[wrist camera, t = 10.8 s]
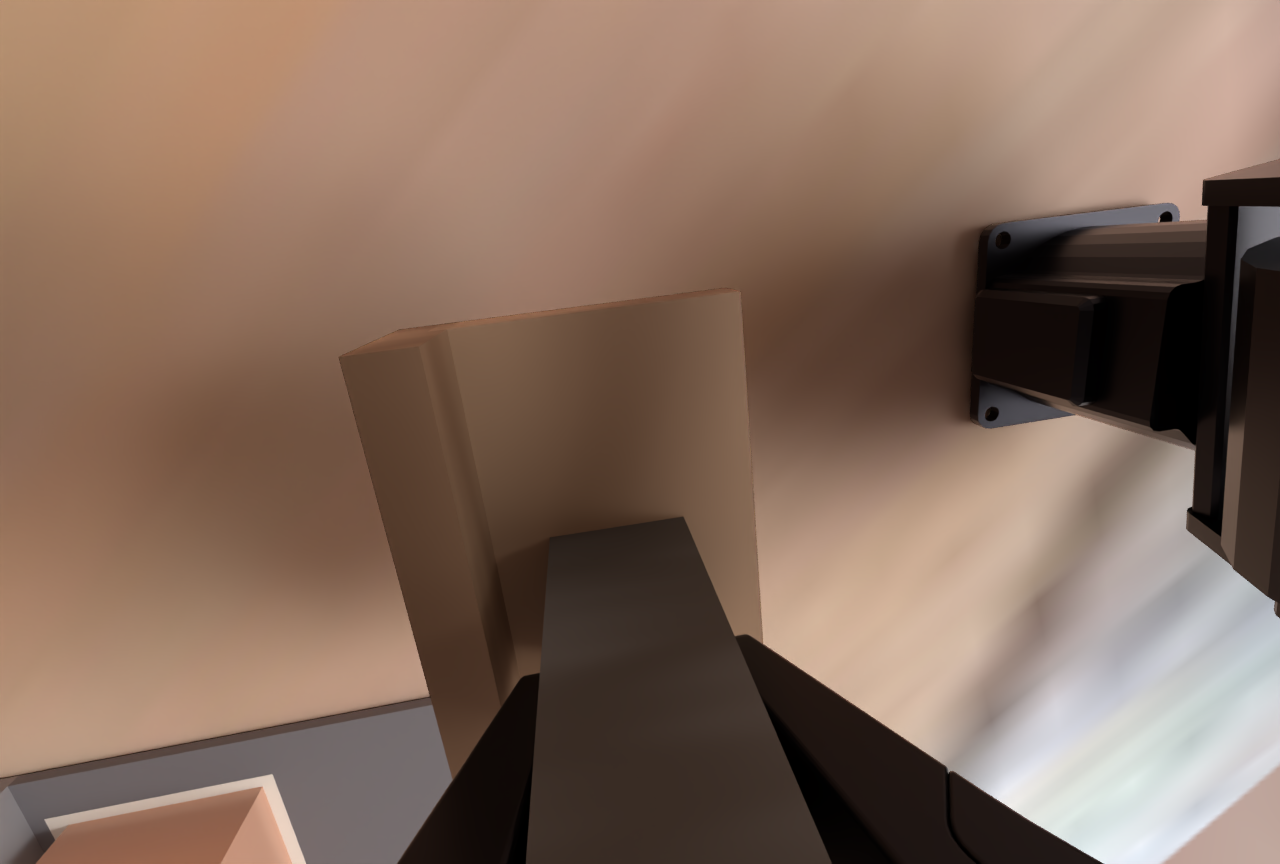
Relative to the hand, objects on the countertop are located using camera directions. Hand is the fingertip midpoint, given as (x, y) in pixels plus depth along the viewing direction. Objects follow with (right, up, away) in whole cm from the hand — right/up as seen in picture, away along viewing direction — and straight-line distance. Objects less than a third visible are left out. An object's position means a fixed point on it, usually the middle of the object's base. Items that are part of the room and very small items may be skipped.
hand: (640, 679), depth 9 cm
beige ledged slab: (0, +1, +3) cm, 4 cm away
